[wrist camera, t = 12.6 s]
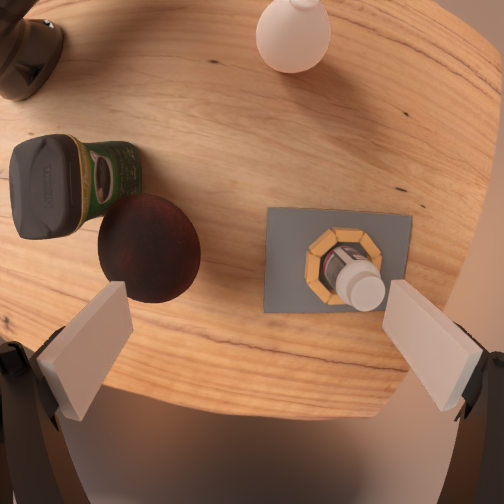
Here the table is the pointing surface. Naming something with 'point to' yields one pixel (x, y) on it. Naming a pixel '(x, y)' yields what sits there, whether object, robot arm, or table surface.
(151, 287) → the decorative mushroom
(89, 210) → the coffee jar
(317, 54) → the sauce bottle
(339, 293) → the pill bottle
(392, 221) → the socket board
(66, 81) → the table surface
